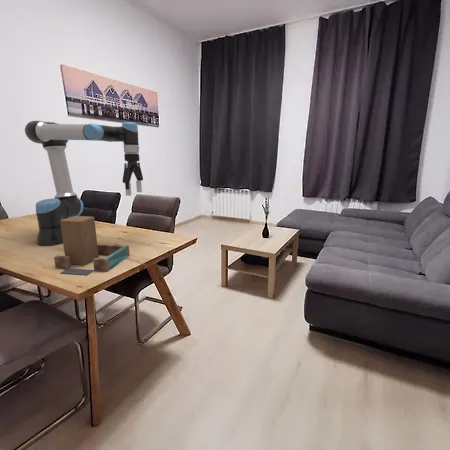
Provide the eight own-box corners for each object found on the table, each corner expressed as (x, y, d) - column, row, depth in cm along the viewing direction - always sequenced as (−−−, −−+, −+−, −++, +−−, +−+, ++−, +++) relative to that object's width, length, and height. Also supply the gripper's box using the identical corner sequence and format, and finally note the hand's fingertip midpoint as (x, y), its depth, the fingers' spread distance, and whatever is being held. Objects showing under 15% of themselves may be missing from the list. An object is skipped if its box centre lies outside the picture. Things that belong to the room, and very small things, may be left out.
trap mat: (60, 273, 118) (60, 272, 118) (68, 268, 123) (68, 268, 123) (87, 275, 116) (86, 274, 116) (94, 270, 121) (94, 269, 121)
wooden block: (85, 265, 127) (79, 221, 122) (65, 263, 129) (59, 220, 124) (99, 257, 136) (94, 216, 131) (80, 256, 138) (75, 215, 133)
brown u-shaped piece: (55, 268, 124) (53, 257, 122) (84, 252, 143) (83, 243, 142) (107, 271, 120) (106, 260, 119) (129, 255, 140) (128, 245, 138)
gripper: (127, 153, 138) (130, 197, 144) (147, 153, 162) (149, 191, 168) (113, 153, 139) (116, 196, 144) (135, 153, 163) (137, 190, 168)
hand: (134, 193), depth 156 cm, fingers open, 13 cm apart
